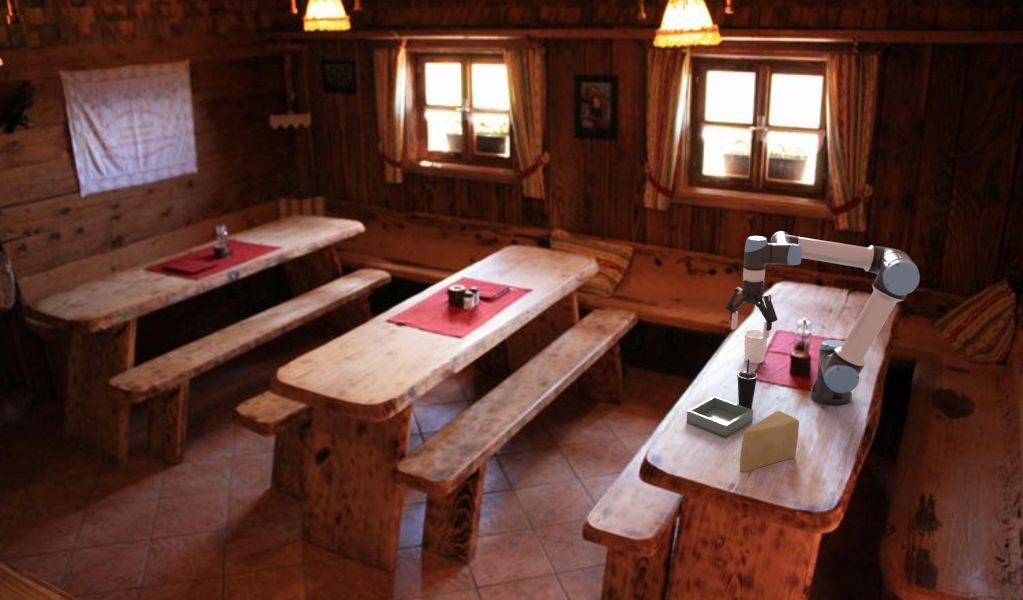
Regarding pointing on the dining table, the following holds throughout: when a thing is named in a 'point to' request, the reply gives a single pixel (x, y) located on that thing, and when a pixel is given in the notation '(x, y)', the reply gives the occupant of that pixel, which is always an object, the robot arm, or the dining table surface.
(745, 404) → the drinking cup
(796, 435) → the cheese
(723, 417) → the grey-green shallow box
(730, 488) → the dining table surface
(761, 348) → the white cup
